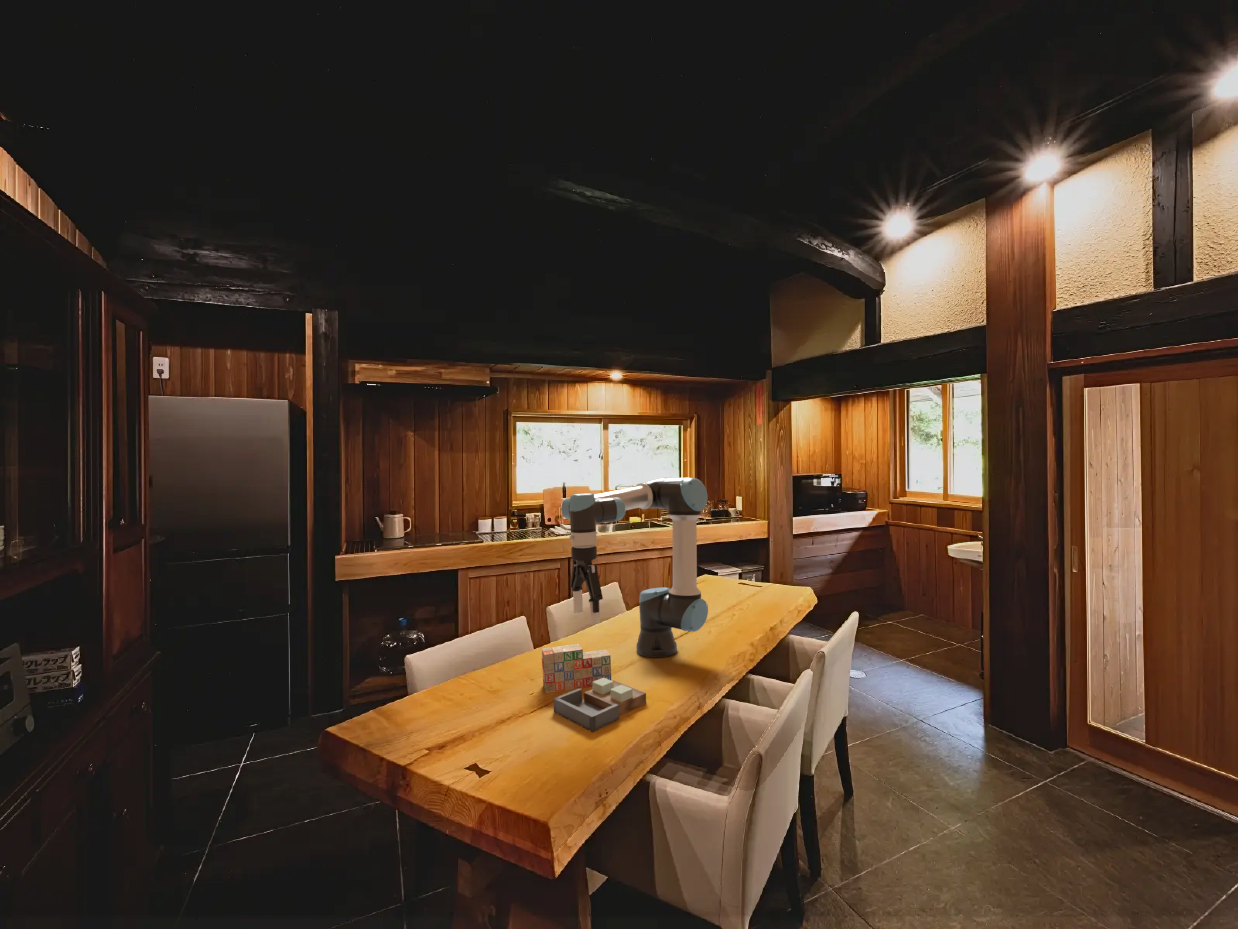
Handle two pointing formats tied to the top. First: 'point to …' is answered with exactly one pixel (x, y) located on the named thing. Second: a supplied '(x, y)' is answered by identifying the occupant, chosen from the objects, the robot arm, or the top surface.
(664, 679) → the top surface
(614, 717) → the tray
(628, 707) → the board
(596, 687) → the tile
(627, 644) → the top surface
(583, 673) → the stack of blocks
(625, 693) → the tile
